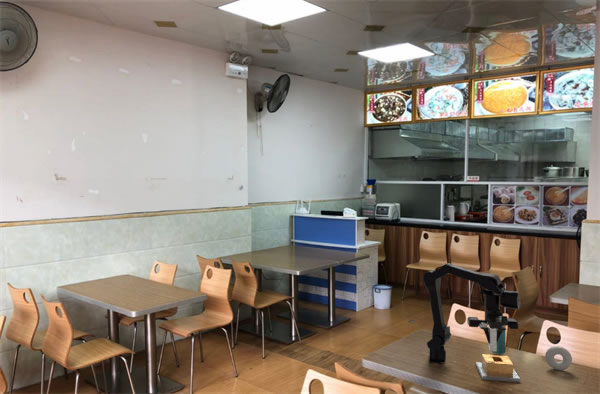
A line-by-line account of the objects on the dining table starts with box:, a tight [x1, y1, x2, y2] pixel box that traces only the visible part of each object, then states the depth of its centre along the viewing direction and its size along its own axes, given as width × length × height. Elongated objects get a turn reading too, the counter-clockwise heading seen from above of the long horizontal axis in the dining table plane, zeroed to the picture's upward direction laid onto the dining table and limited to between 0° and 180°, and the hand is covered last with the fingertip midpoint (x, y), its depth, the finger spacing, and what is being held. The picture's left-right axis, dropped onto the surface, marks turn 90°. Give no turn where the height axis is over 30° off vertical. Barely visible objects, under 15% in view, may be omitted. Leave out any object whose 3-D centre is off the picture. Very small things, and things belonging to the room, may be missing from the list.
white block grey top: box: [487, 325, 497, 352], centre depth 188 cm, size 2×4×9 cm, turn 168°
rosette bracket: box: [475, 353, 521, 383], centre depth 189 cm, size 14×15×6 cm
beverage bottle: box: [490, 310, 507, 355], centre depth 209 cm, size 6×7×20 cm
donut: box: [544, 345, 573, 371], centre depth 192 cm, size 10×3×10 cm, turn 66°
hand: (492, 343), depth 188 cm, fingers closed on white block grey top, 2 cm apart
